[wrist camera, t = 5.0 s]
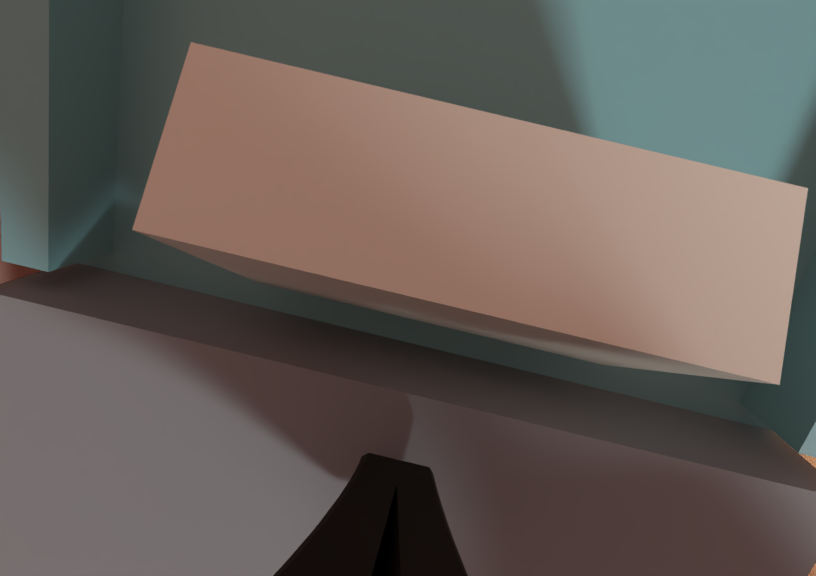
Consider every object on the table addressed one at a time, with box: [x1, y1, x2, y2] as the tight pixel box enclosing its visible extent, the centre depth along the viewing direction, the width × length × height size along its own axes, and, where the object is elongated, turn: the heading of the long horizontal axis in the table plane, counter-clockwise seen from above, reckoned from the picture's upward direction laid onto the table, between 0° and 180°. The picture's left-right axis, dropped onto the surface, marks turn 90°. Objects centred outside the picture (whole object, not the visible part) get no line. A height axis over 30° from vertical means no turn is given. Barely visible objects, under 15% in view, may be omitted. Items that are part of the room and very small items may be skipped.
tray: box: [0, 0, 816, 457], centre depth 9 cm, size 18×14×2 cm
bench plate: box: [0, 263, 816, 576], centre depth 13 cm, size 18×12×3 cm, turn 77°
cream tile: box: [132, 42, 808, 385], centre depth 8 cm, size 8×5×2 cm
